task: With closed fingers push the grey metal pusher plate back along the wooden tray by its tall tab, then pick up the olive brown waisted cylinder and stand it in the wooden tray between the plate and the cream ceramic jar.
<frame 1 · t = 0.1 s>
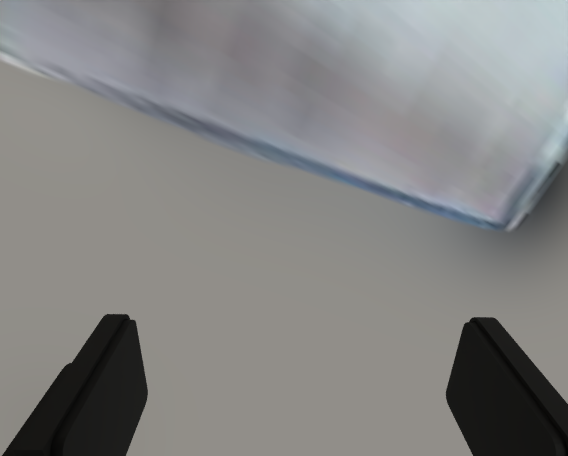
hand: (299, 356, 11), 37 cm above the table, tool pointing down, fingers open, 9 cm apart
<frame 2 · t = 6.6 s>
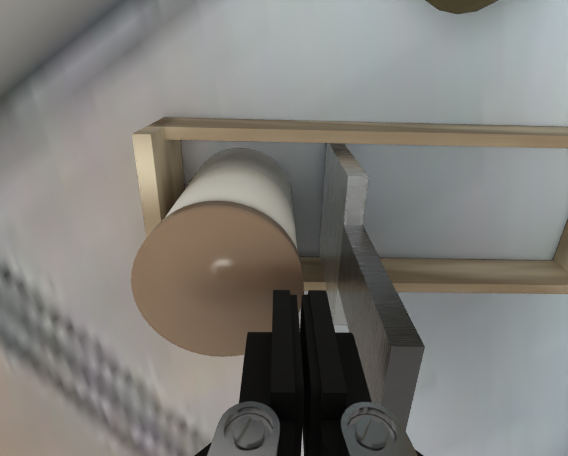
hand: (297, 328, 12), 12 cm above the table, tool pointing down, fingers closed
pusher: (350, 258, 16), point 7 cm above the table, slide at 1.5 cm, touching gripper
jar: (242, 197, 23), resting in wooden tray
wooden tray: (381, 200, 23), on the table
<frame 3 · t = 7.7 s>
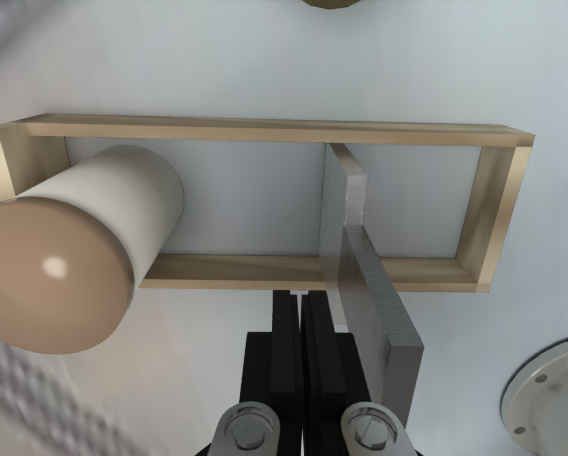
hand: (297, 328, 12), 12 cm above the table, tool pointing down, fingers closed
pusher: (349, 257, 16), point 7 cm above the table, slide at 7.9 cm, touching gripper
jar: (133, 194, 23), resting in wooden tray
wooden tray: (275, 197, 23), on the table
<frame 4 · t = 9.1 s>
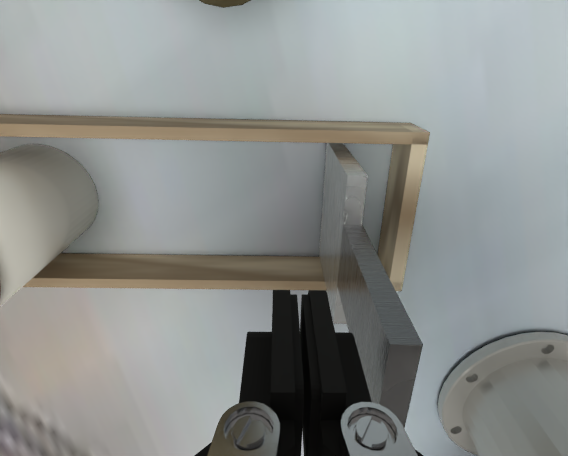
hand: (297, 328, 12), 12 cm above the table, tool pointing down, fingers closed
pusher: (349, 257, 16), point 7 cm above the table, slide at 13.1 cm, touching gripper
jar: (47, 194, 23), resting in wooden tray
wooden tray: (189, 196, 23), on the table
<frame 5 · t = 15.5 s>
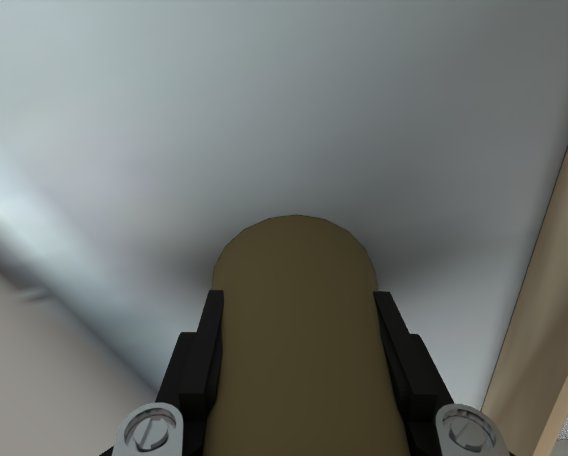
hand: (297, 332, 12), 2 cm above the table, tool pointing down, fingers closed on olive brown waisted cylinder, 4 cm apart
olive brown waisted cylinder: (293, 287, 14), on the table, touching gripper
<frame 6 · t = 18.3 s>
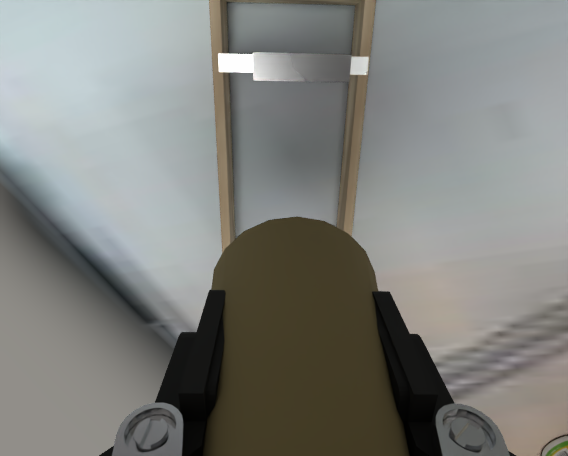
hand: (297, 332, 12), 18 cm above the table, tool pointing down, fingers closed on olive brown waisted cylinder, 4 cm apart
pusher: (293, 64, 18), point 7 cm above the table, slide at 13.2 cm
supplement bottle: (563, 448, 41), on the table
wooden tray: (286, 186, 28), on the table
olive brown waisted cylinder: (293, 289, 14), point 15 cm above the table, touching gripper
when the fingers open (4 cm above the table, at t = 21.1 s): olive brown waisted cylinder stays where it is, resting in wooden tray.
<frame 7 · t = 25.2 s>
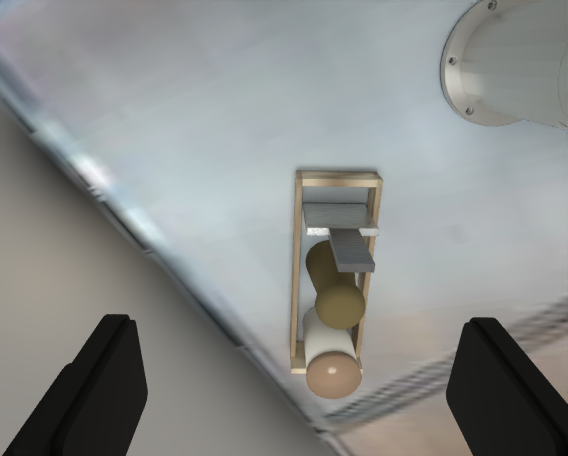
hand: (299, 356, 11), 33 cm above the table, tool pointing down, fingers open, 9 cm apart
pusher: (343, 232, 38), point 7 cm above the table, slide at 13.2 cm
jar: (324, 322, 52), resting in wooden tray
wooden tray: (328, 268, 48), on the table
olive brown waisted cylinder: (329, 260, 48), resting in wooden tray
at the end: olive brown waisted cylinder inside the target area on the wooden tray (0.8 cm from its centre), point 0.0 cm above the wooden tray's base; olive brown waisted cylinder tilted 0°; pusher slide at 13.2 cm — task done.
